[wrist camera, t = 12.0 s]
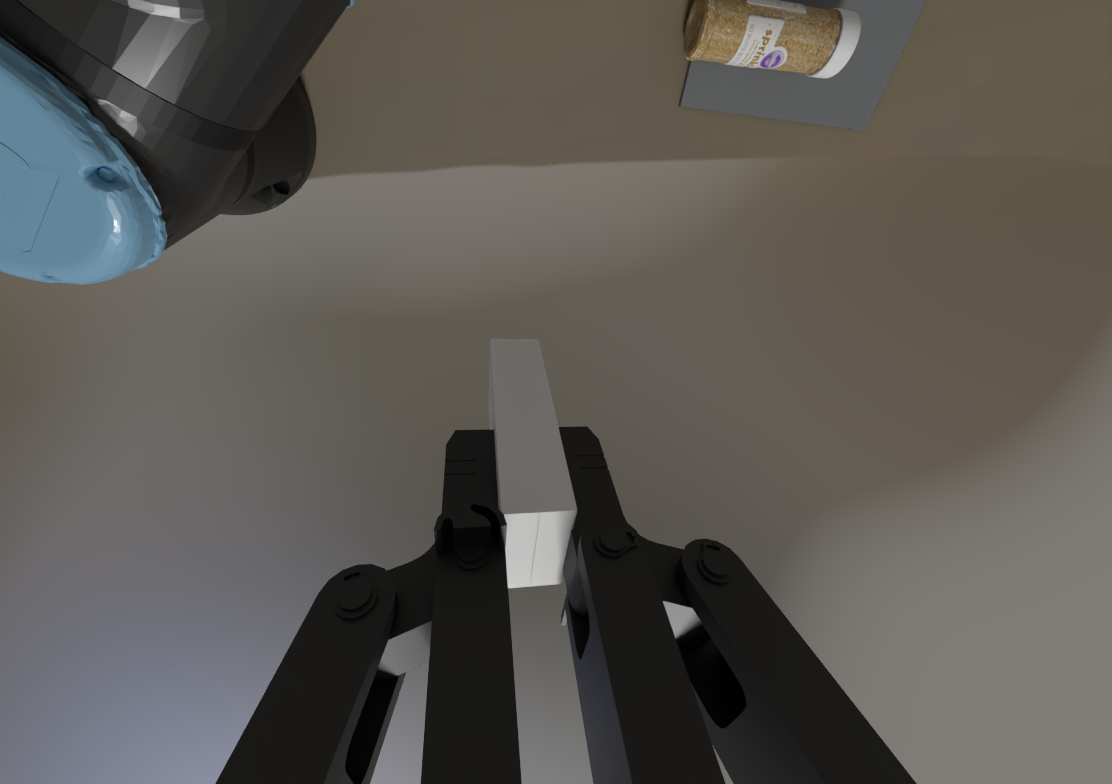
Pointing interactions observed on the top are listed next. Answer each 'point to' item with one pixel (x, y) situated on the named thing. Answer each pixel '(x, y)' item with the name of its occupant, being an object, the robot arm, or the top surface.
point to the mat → (837, 101)
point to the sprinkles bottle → (772, 35)
